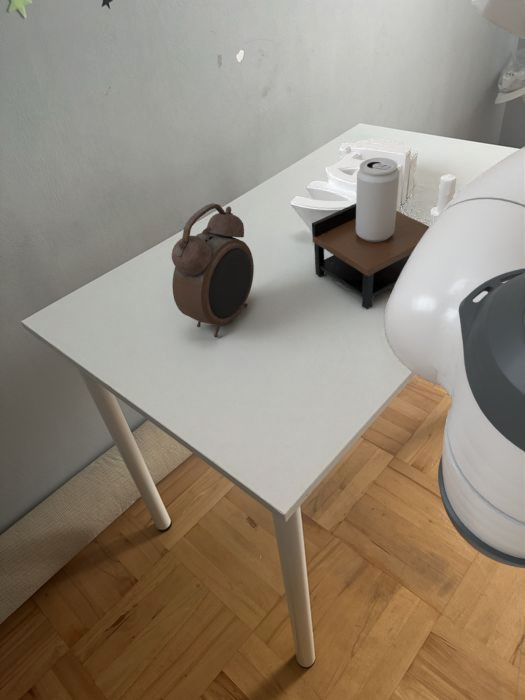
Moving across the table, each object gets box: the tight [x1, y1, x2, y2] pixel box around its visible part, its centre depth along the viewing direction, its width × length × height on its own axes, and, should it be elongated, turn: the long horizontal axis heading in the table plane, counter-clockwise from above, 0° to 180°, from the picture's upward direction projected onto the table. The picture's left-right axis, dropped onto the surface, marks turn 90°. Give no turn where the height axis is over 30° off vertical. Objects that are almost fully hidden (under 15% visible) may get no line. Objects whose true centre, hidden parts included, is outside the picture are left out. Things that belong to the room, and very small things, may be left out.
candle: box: [429, 173, 457, 218], centre depth 93 cm, size 5×5×12 cm
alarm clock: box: [171, 202, 255, 338], centre depth 79 cm, size 15×7×20 cm, turn 147°
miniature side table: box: [311, 203, 430, 310], centre depth 87 cm, size 14×16×10 cm
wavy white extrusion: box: [289, 138, 419, 232], centre depth 104 cm, size 35×16×11 cm, turn 146°
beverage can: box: [356, 158, 399, 242], centre depth 81 cm, size 6×6×12 cm
